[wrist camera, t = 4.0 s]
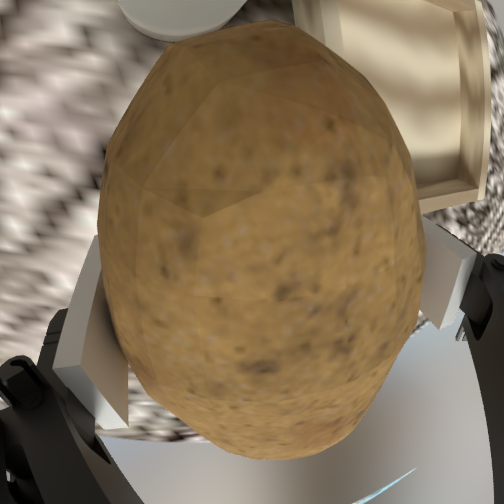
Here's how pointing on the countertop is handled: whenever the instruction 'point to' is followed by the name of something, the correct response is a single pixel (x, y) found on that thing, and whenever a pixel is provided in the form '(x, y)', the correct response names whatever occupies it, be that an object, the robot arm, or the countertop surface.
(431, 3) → the tray
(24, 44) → the countertop surface
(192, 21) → the white rounded piece
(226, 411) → the potato
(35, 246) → the countertop surface
